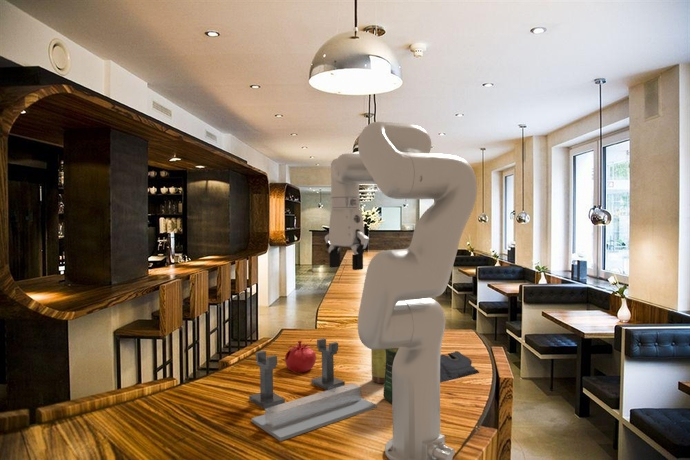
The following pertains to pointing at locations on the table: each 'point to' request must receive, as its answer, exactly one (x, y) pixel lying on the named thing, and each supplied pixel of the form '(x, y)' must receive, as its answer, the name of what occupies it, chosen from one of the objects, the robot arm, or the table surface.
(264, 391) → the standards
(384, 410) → the table surface
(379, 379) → the sauce bottle
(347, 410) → the mat
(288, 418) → the hang bar
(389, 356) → the coffee jar
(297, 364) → the pomegranate
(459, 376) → the dark grey notched piece
